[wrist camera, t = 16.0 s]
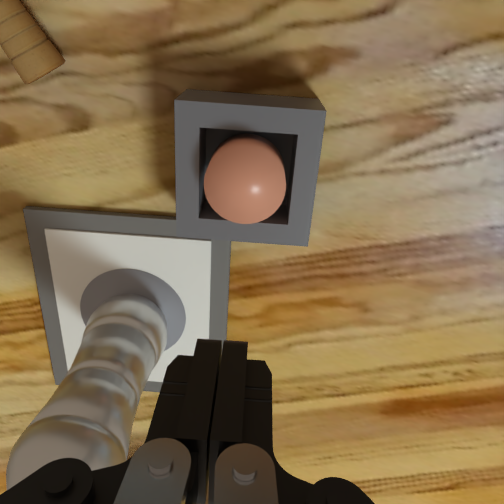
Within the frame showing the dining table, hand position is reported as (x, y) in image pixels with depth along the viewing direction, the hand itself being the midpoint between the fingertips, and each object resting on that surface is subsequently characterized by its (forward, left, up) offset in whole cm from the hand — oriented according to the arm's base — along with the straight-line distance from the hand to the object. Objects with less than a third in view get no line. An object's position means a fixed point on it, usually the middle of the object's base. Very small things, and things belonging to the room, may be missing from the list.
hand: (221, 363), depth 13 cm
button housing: (0, 0, -22) cm, 22 cm away
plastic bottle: (+14, -9, -21) cm, 27 cm away
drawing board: (+14, -9, -22) cm, 27 cm away
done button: (0, 0, -19) cm, 19 cm away
